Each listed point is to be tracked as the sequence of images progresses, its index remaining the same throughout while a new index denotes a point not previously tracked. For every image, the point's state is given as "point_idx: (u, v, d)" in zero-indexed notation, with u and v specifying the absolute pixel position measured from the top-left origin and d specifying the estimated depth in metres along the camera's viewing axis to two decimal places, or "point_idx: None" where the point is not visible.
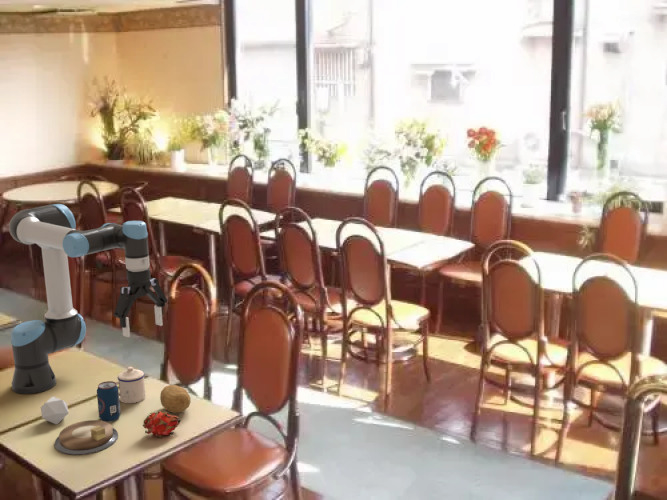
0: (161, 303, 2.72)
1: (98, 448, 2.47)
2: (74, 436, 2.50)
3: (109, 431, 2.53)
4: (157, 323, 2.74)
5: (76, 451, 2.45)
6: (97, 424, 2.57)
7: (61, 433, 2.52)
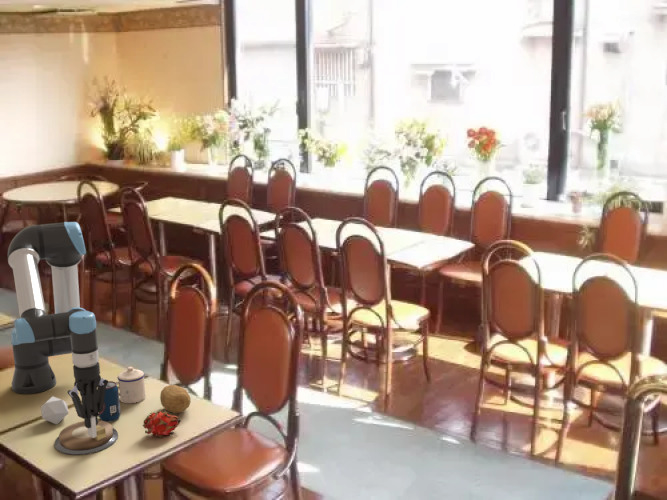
0: (96, 412, 2.45)
1: (98, 448, 2.47)
2: (74, 436, 2.50)
3: (109, 431, 2.53)
4: None
5: (76, 451, 2.45)
6: (97, 424, 2.58)
7: (61, 433, 2.52)
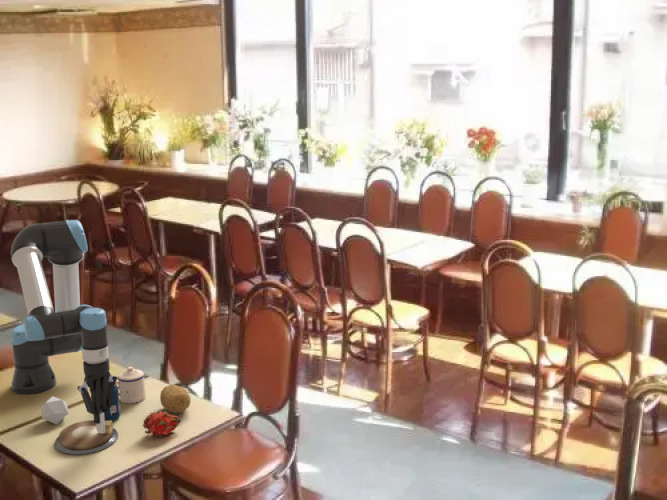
0: (105, 408, 2.48)
1: (98, 448, 2.47)
2: (81, 437, 2.49)
3: None
4: None
5: (76, 451, 2.45)
6: (87, 424, 2.58)
7: (63, 439, 2.48)
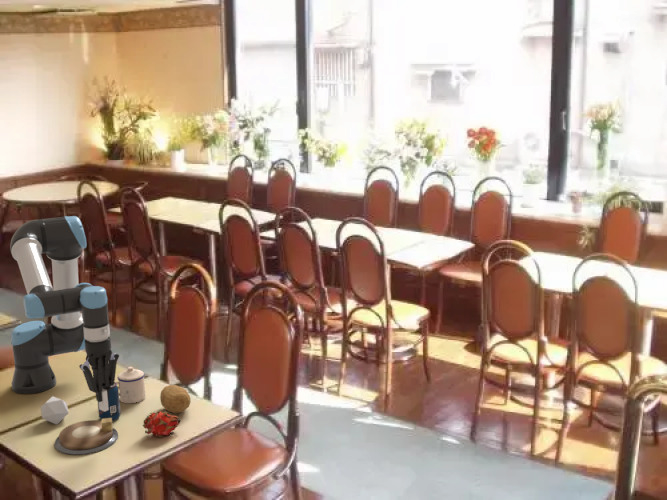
0: (107, 386, 2.48)
1: (98, 448, 2.47)
2: (84, 437, 2.49)
3: None
4: None
5: (76, 451, 2.45)
6: (82, 424, 2.57)
7: (67, 441, 2.47)
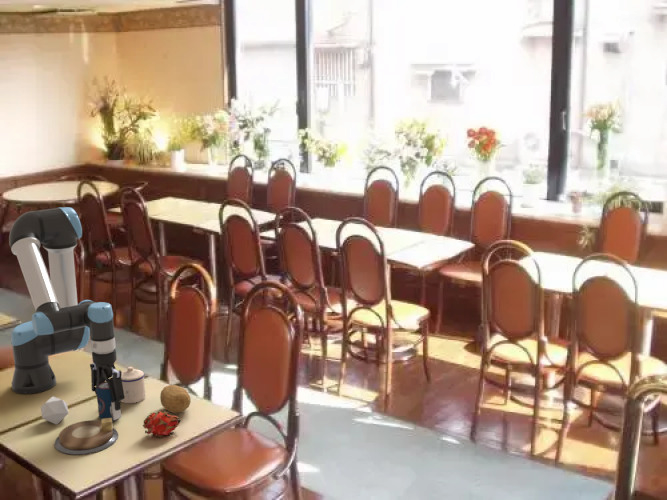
0: (113, 398, 2.62)
1: (98, 448, 2.47)
2: (84, 437, 2.49)
3: None
4: None
5: (76, 451, 2.45)
6: (82, 424, 2.57)
7: (67, 441, 2.47)
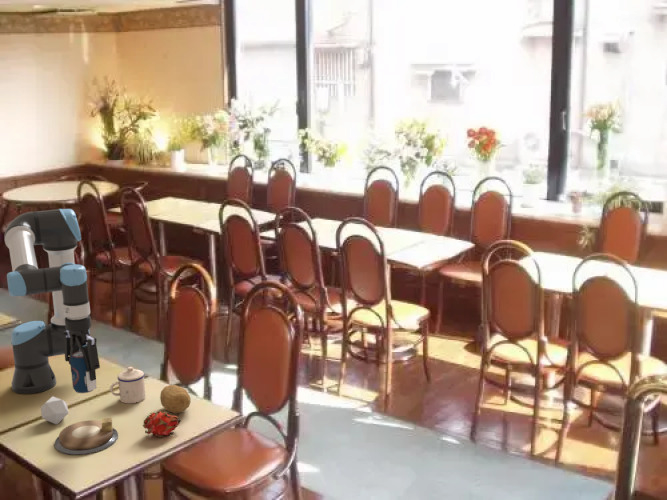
0: (88, 367, 2.45)
1: (98, 448, 2.47)
2: (84, 437, 2.49)
3: None
4: None
5: (76, 451, 2.45)
6: (82, 424, 2.57)
7: (67, 441, 2.47)
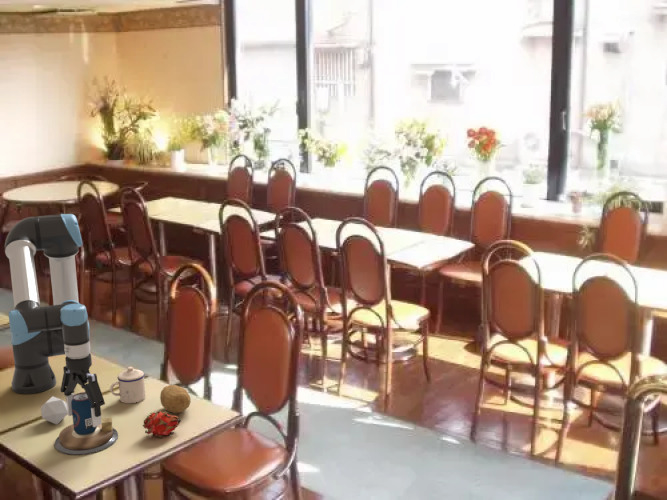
0: (92, 404, 2.45)
1: (98, 448, 2.47)
2: (84, 437, 2.49)
3: None
4: None
5: (76, 451, 2.45)
6: None
7: (67, 441, 2.47)
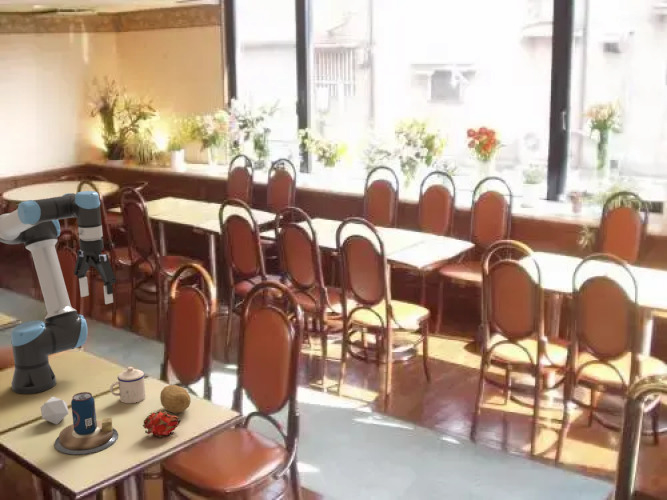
0: (105, 282, 2.66)
1: (98, 448, 2.47)
2: (84, 437, 2.49)
3: None
4: None
5: (76, 451, 2.45)
6: None
7: (67, 441, 2.47)
